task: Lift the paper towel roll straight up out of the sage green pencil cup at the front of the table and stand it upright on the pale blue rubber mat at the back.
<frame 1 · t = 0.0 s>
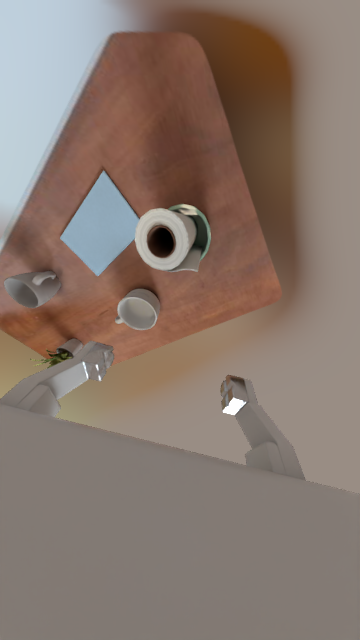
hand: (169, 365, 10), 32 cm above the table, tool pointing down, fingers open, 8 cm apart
house plant: (78, 345, 64), on the table
paper towel roll: (185, 234, 34), resting on sage green pencil cup
sage green pencil cup: (187, 234, 34), on the table
teacup: (142, 302, 47), on the table
mat: (101, 232, 36), on the table
mug: (55, 278, 46), on the table
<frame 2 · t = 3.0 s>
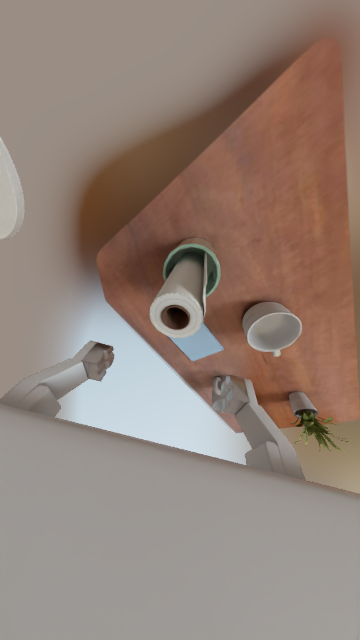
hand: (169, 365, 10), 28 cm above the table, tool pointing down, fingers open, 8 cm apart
house plant: (300, 395, 55), on the table
paper towel roll: (193, 264, 33), resting on sage green pencil cup
sage green pencil cup: (194, 262, 33), on the table
teacup: (261, 319, 39), on the table
mat: (190, 334, 45), on the table
mug: (221, 377, 56), on the table
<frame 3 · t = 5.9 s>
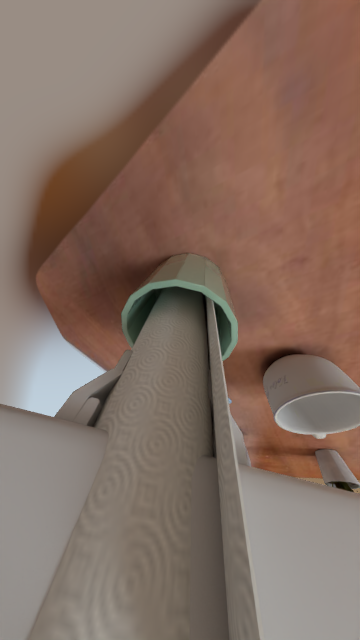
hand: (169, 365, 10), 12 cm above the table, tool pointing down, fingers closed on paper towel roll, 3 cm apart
house plant: (331, 452, 42), on the table
paper towel roll: (186, 296, 20), resting on sage green pencil cup, touching gripper
sage green pencil cup: (187, 293, 20), on the table
teacup: (291, 371, 26), on the table
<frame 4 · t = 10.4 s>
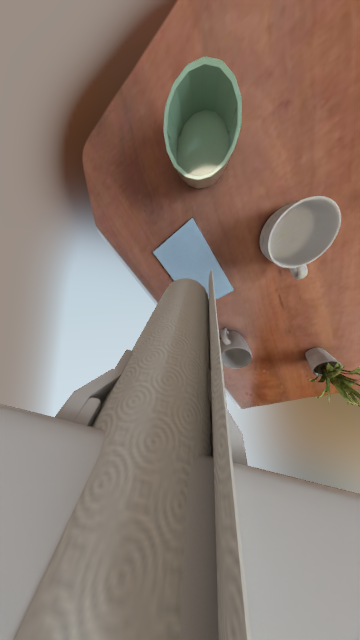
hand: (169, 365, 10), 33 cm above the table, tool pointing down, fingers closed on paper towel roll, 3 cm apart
house plant: (319, 352, 48), on the table
paper towel roll: (190, 296, 20), point 21 cm above the table, touching gripper
sage green pencil cup: (202, 151, 27), on the table
teacup: (282, 240, 33), on the table
mat: (194, 271, 39), on the table
mug: (228, 332, 49), on the table
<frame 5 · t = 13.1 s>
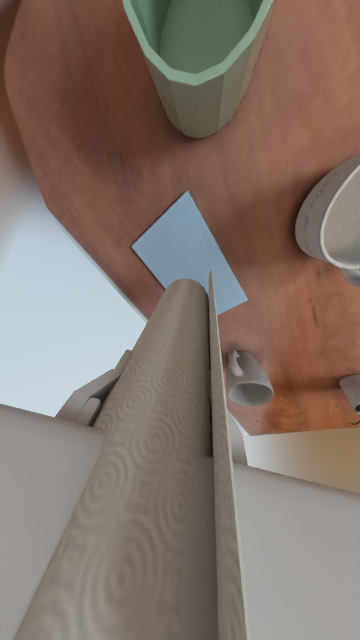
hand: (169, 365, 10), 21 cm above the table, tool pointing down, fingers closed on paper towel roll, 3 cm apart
house plant: (358, 380, 36), on the table
paper towel roll: (190, 297, 20), point 9 cm above the table, touching gripper
sage green pencil cup: (203, 63, 15), on the table
teacup: (328, 225, 21), on the table
mat: (192, 273, 27), on the table
mug: (238, 353, 37), on the table
when the fingers open (12 cm above the table, at t = 15.3 s): paper towel roll stays where it is, resting on mat.
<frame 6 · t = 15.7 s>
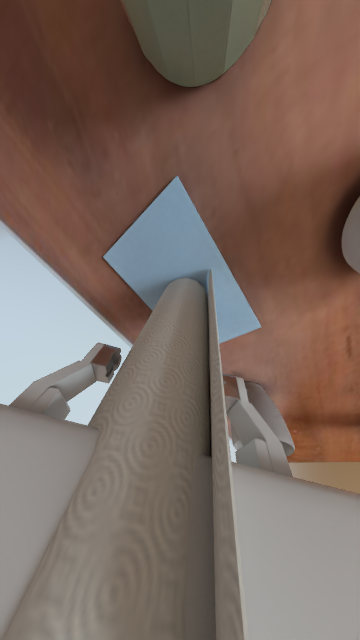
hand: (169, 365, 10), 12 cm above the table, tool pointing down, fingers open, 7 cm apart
paper towel roll: (189, 296, 20), resting on mat
mat: (187, 292, 20), on the table
mug: (245, 384, 30), on the table
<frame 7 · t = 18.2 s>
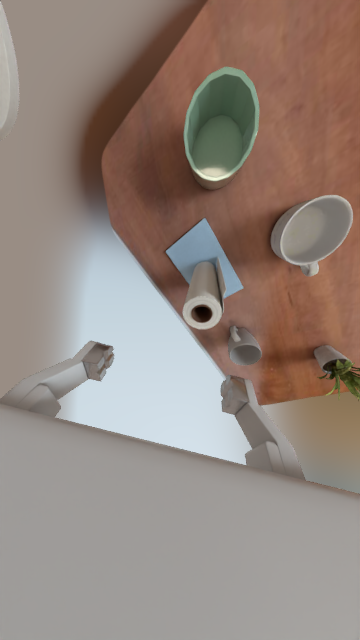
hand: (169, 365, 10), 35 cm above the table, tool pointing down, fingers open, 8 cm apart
house plant: (327, 350, 49), on the table
paper towel roll: (206, 271, 40), resting on mat
sage green pencil cup: (216, 154, 28), on the table
teacup: (292, 238, 33), on the table
mat: (205, 269, 40), on the table
mug: (237, 330, 50), on the table
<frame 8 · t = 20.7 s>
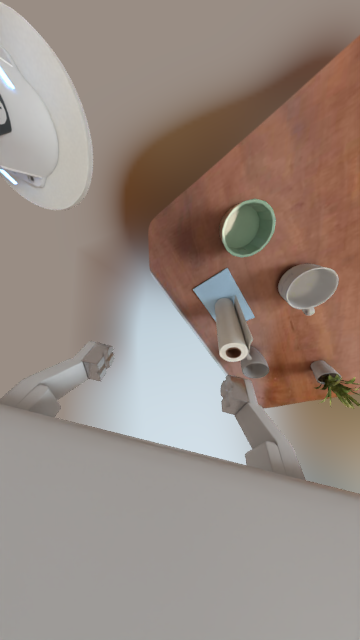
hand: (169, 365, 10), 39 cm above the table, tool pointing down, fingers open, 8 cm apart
house plant: (322, 364, 59), on the table
paper towel roll: (225, 304, 49), resting on mat
sage green pencil cup: (239, 228, 37), on the table
teacup: (294, 284, 43), on the table
mat: (224, 302, 50), on the table
mug: (247, 348, 60), on the table
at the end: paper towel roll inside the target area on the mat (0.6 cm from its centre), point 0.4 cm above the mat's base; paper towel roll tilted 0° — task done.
